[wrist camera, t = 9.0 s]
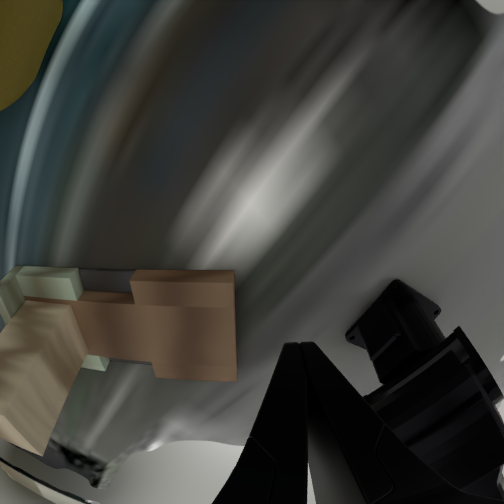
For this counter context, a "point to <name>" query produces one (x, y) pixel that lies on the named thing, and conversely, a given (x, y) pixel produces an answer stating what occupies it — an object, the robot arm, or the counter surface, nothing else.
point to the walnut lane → (141, 316)
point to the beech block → (37, 371)
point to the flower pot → (24, 43)
